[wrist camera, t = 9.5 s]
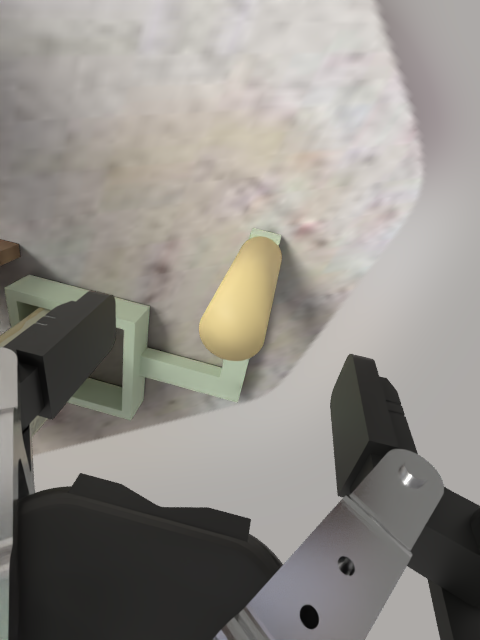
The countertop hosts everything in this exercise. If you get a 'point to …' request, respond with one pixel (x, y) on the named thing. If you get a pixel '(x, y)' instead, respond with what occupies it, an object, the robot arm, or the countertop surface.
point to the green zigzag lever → (139, 361)
